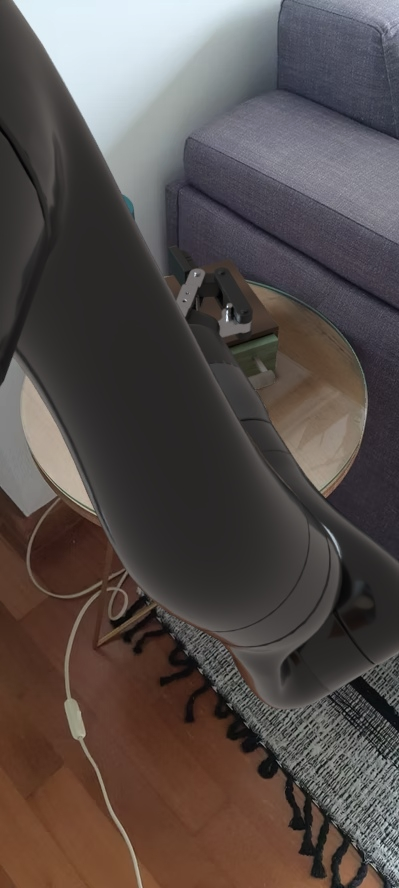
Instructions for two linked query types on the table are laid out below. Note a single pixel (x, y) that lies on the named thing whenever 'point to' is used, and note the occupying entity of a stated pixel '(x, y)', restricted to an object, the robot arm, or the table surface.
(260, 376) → the drawer
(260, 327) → the cabinet
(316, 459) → the table surface
